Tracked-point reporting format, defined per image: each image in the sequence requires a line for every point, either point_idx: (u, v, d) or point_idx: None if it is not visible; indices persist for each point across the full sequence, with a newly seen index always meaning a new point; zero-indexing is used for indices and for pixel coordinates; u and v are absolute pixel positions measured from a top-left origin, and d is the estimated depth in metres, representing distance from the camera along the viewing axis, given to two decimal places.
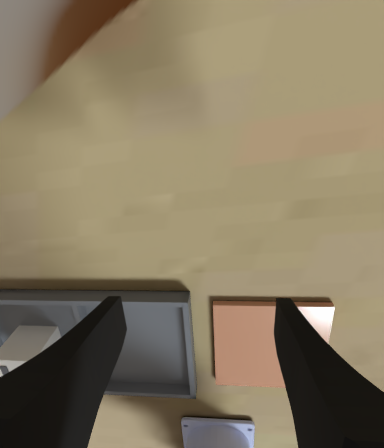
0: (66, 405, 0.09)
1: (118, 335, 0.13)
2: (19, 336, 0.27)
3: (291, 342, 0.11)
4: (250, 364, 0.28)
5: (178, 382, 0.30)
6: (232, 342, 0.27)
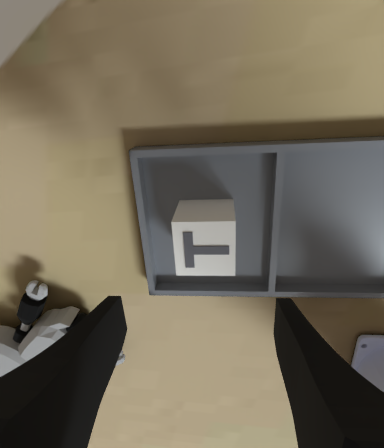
0: (66, 405, 0.09)
1: (118, 335, 0.13)
2: (189, 206, 0.21)
3: (291, 342, 0.11)
4: None
5: (374, 281, 0.23)
6: None
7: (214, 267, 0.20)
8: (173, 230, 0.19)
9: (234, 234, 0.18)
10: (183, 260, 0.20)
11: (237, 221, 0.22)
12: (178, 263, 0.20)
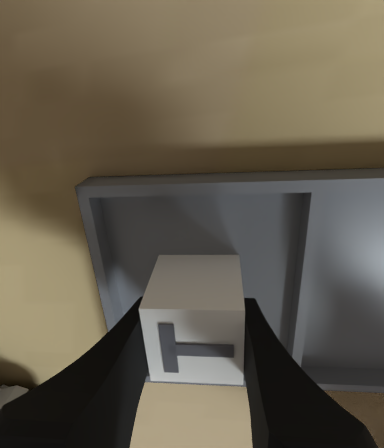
0: (113, 408, 0.09)
1: None
2: (172, 269, 0.14)
3: (248, 341, 0.11)
4: None
5: None
6: None
7: (210, 372, 0.12)
8: (143, 320, 0.11)
9: (242, 329, 0.11)
10: (161, 361, 0.12)
11: (245, 285, 0.15)
12: (153, 365, 0.12)
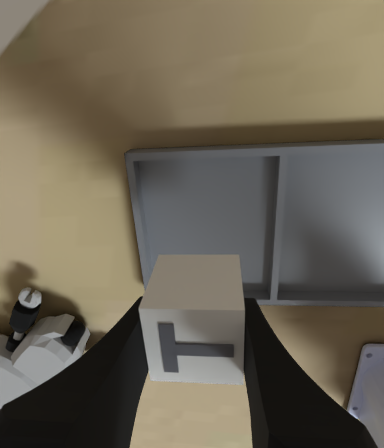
0: (113, 408, 0.09)
1: None
2: (172, 269, 0.14)
3: (248, 341, 0.11)
4: None
5: (381, 288, 0.22)
6: None
7: (210, 372, 0.12)
8: (142, 320, 0.11)
9: (242, 329, 0.11)
10: (161, 361, 0.12)
11: (238, 227, 0.21)
12: (153, 365, 0.12)
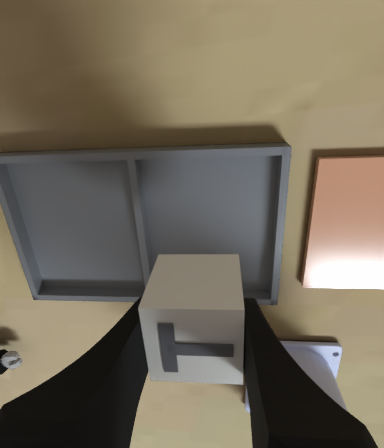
0: (113, 408, 0.09)
1: None
2: (171, 269, 0.14)
3: (248, 341, 0.11)
4: (355, 253, 0.21)
5: (252, 287, 0.23)
6: (336, 219, 0.20)
7: (209, 372, 0.12)
8: (142, 320, 0.11)
9: (242, 328, 0.11)
10: (161, 361, 0.12)
11: (109, 227, 0.22)
12: (152, 364, 0.12)
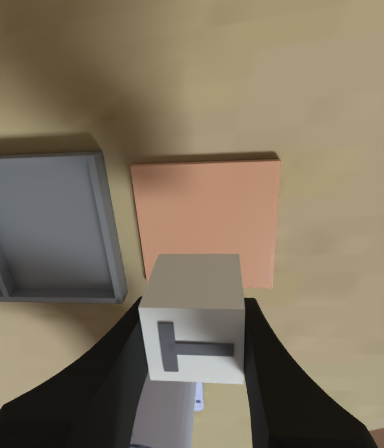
0: (113, 408, 0.09)
1: None
2: (172, 268, 0.13)
3: (247, 341, 0.11)
4: None
5: (103, 286, 0.25)
6: (160, 222, 0.22)
7: (210, 372, 0.12)
8: (142, 319, 0.11)
9: (242, 328, 0.11)
10: (161, 360, 0.12)
11: None
12: (153, 364, 0.12)
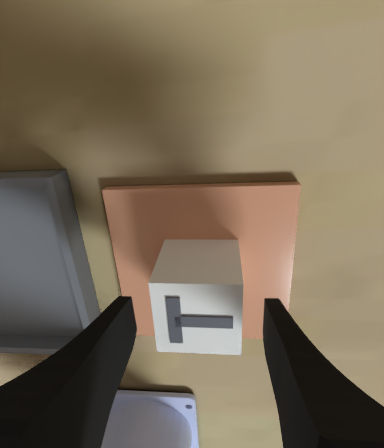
0: (81, 406, 0.09)
1: (129, 335, 0.13)
2: (177, 251, 0.15)
3: (276, 342, 0.11)
4: None
5: (76, 333, 0.20)
6: (143, 260, 0.17)
7: (211, 343, 0.14)
8: (151, 294, 0.13)
9: (241, 302, 0.12)
10: (167, 333, 0.14)
11: None
12: (160, 336, 0.14)
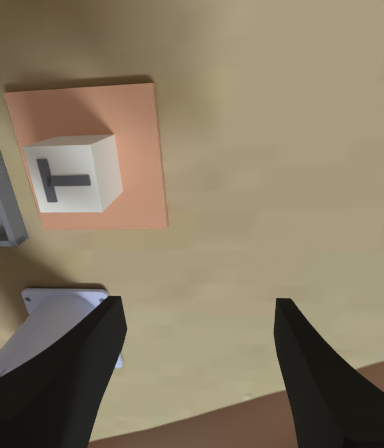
0: (66, 405, 0.09)
1: (118, 335, 0.13)
2: (60, 138, 0.19)
3: (291, 342, 0.11)
4: None
5: (1, 231, 0.24)
6: None
7: (78, 202, 0.18)
8: (26, 157, 0.17)
9: (92, 161, 0.17)
10: (44, 193, 0.18)
11: None
12: (40, 197, 0.18)
